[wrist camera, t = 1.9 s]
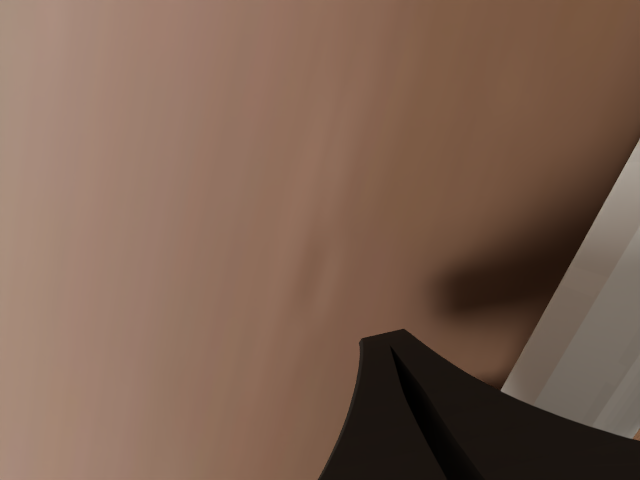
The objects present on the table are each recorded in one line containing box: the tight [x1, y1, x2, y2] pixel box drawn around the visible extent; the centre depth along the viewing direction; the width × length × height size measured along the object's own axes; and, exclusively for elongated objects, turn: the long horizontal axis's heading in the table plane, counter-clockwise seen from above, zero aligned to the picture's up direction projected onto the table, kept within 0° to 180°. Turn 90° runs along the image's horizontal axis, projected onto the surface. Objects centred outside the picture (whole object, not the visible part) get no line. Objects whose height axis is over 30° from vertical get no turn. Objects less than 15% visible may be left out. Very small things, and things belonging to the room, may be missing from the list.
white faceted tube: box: [501, 139, 640, 439], centre depth 11 cm, size 5×7×25 cm
